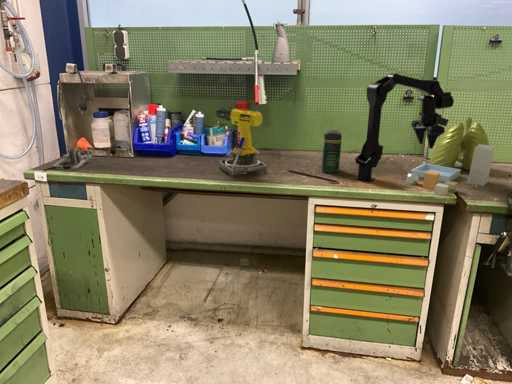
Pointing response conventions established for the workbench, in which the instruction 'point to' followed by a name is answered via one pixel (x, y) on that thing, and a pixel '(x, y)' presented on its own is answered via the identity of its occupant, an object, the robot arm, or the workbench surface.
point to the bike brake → (72, 160)
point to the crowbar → (315, 177)
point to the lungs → (458, 145)
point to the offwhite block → (441, 189)
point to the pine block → (451, 186)
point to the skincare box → (481, 164)
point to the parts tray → (445, 172)
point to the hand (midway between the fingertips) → (425, 146)
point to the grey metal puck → (412, 178)
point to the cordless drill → (242, 141)
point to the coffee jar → (331, 151)
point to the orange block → (431, 179)
